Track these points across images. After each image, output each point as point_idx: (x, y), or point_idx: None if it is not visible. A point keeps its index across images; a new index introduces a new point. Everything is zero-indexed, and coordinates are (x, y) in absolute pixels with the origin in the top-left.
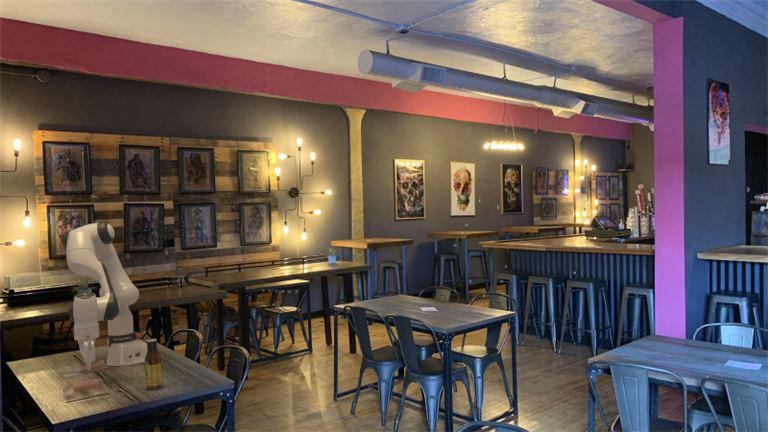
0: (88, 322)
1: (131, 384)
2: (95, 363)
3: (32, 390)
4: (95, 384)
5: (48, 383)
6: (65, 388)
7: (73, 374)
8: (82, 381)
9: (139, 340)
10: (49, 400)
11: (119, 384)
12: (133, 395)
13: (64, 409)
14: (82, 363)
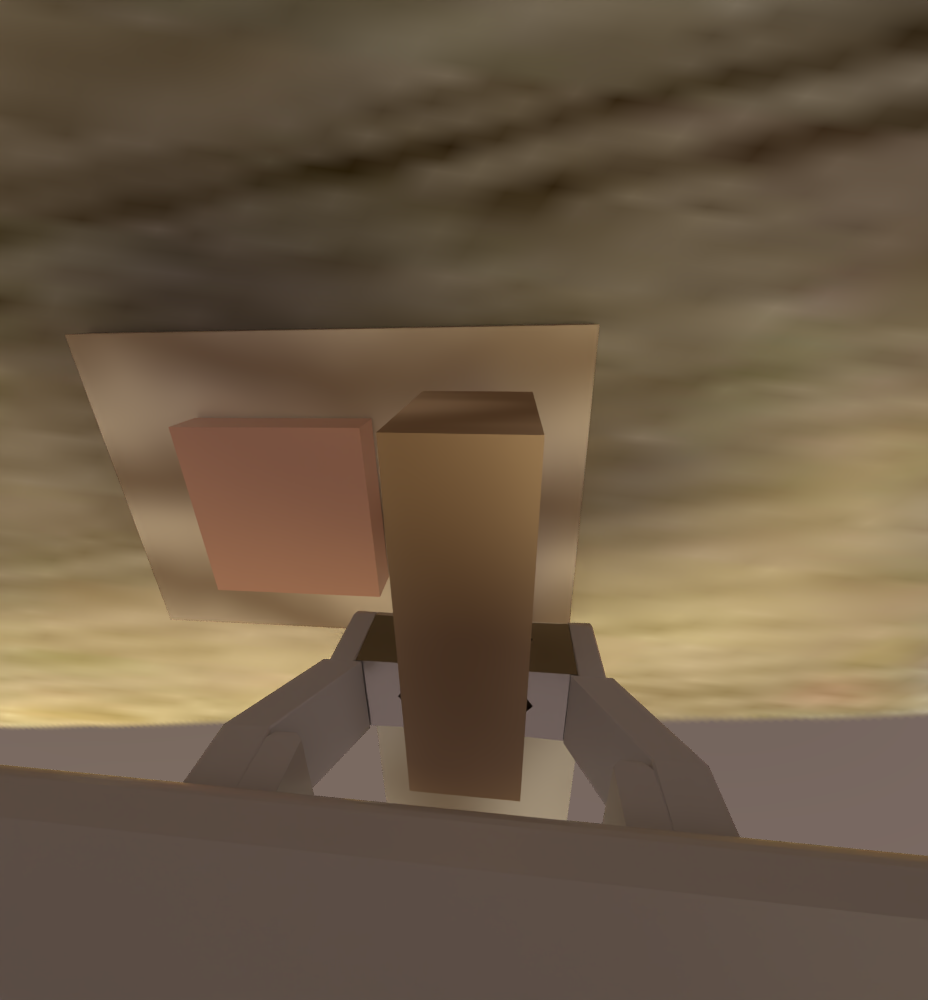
0: None
1: (361, 6)
2: (533, 598)
3: (147, 719)
4: (361, 430)
5: (24, 647)
6: (253, 608)
7: (544, 761)
8: (214, 520)
9: None
10: None
11: (283, 167)
12: (870, 47)
13: (702, 645)
14: (414, 771)
